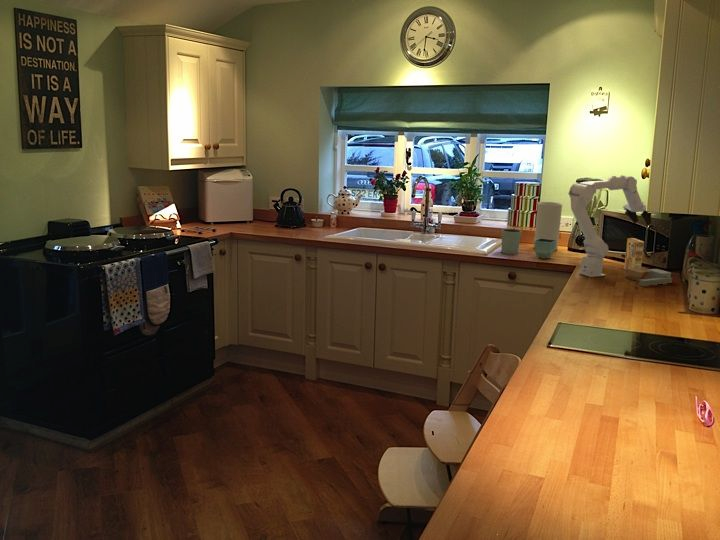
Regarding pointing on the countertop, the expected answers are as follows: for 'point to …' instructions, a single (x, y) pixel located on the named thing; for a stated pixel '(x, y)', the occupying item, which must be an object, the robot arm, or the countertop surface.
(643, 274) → the walnut block
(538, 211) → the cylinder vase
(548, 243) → the flower pot
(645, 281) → the stop rail
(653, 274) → the grey-blue block
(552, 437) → the countertop surface
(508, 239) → the green tapered cup
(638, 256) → the candy box
